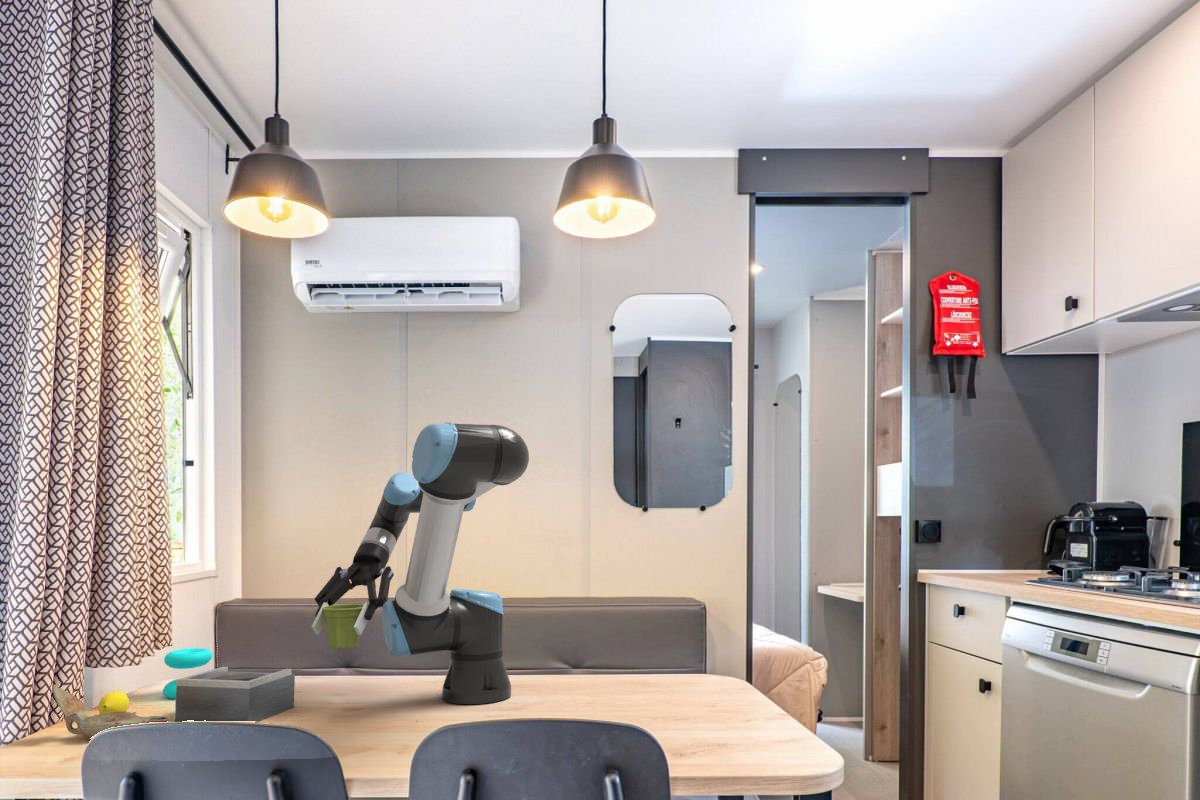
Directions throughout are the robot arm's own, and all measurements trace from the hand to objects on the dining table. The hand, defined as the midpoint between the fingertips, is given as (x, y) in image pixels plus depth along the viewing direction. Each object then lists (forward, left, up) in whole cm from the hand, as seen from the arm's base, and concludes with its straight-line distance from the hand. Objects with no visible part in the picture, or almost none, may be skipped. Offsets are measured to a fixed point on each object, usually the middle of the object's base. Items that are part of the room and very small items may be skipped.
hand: (336, 630), depth 177 cm
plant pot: (0, -3, -4) cm, 5 cm away
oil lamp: (+31, +27, -16) cm, 44 cm away
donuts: (+42, -6, -16) cm, 46 cm away
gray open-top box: (+20, +8, -16) cm, 26 cm away
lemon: (+42, +15, -16) cm, 47 cm away
